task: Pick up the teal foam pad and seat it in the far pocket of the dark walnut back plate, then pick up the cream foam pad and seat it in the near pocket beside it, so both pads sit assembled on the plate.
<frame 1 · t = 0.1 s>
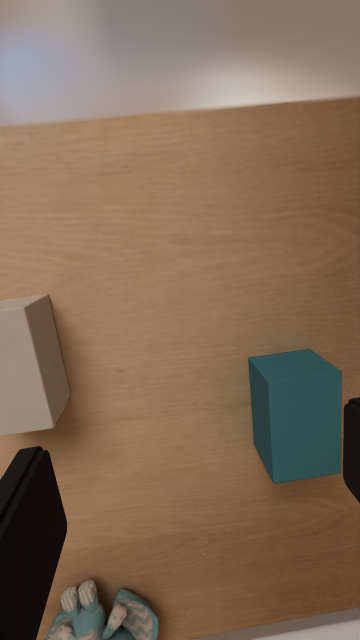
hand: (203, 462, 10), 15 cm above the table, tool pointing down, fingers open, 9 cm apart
teal pad: (281, 398, 27), on the table
stuffed animal: (105, 613, 31), on the table
cream pad: (25, 351, 24), on the table
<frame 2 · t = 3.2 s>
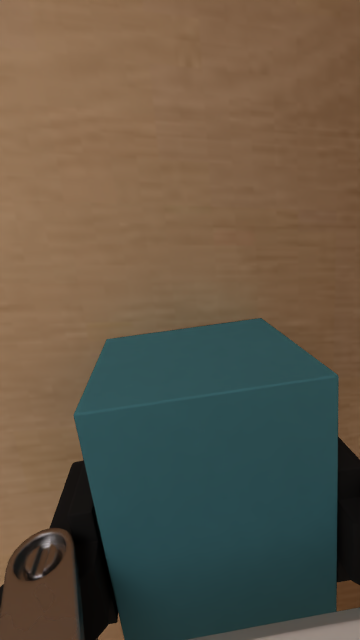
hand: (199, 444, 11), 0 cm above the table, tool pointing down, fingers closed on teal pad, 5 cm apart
teal pad: (197, 437, 11), on the table, touching gripper
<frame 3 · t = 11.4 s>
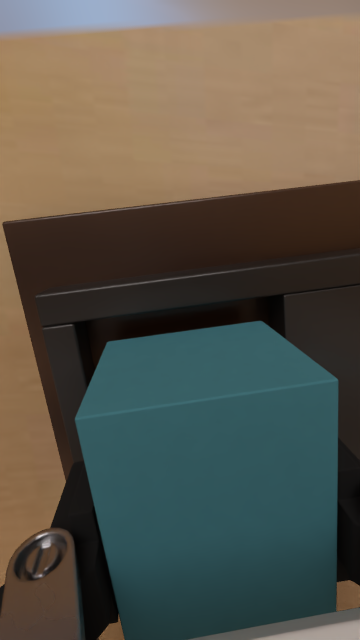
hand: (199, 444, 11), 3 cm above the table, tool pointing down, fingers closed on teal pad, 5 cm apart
teal pad: (198, 439, 11), point 2 cm above the table, touching gripper
back plate: (296, 387, 14), on the table
when the fingers open (3 cm above the table, at t = 14.0 s): teal pad drops 1 cm, resting on back plate.
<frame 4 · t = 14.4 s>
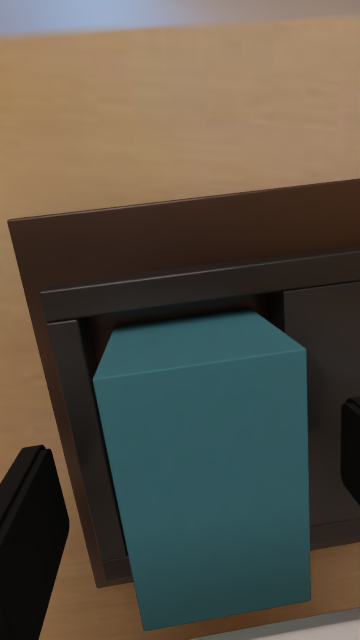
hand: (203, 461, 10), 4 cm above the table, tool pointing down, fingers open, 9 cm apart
teal pad: (194, 414, 13), point 1 cm above the table, touching back plate
back plate: (296, 383, 14), on the table
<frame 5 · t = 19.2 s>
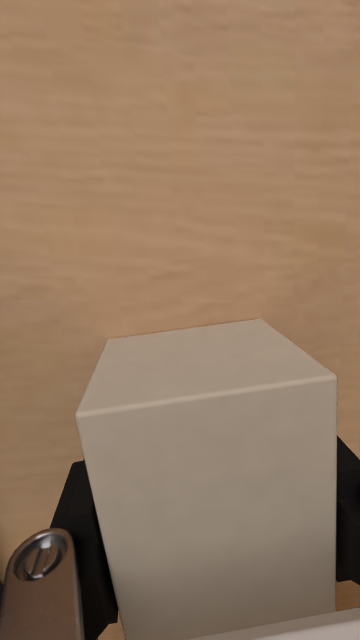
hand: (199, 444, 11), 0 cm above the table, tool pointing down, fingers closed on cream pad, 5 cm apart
cream pad: (197, 437, 11), on the table, touching gripper
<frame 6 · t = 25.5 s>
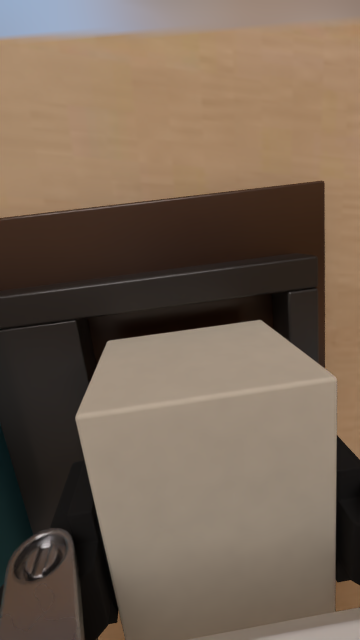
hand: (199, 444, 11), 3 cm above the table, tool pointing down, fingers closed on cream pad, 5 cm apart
back plate: (77, 419, 13), on the table
cream pad: (197, 438, 11), point 2 cm above the table, touching gripper
when the fingers open (3 cm above the table, at t = 28.2 s): cream pad drops 1 cm, resting on back plate.
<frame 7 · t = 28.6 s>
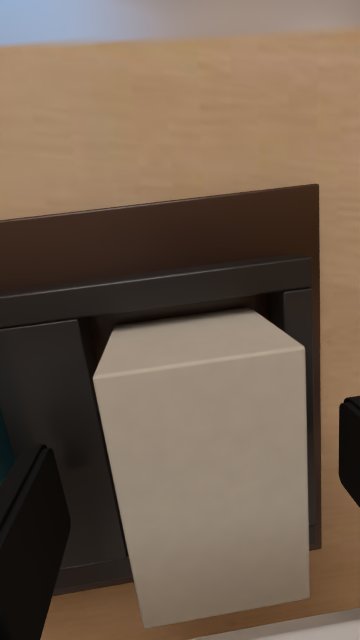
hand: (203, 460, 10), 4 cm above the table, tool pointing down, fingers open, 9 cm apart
back plate: (78, 416, 14), on the table
cream pad: (194, 413, 13), point 1 cm above the table, touching back plate
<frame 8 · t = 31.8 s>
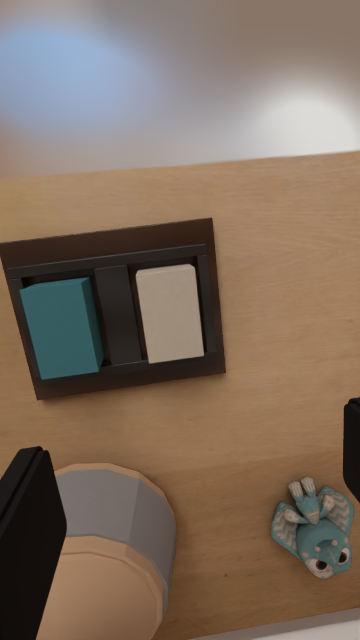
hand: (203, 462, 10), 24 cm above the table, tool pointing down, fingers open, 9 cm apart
teal pad: (73, 319, 32), point 1 cm above the table, touching back plate
back plate: (121, 310, 33), on the table
desk lamp: (97, 516, 40), on the table
stuffed animal: (305, 507, 42), on the table
cream pad: (168, 306, 32), point 1 cm above the table, touching back plate
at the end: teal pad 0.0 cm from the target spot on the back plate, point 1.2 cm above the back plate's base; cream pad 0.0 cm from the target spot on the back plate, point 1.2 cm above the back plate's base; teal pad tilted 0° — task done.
